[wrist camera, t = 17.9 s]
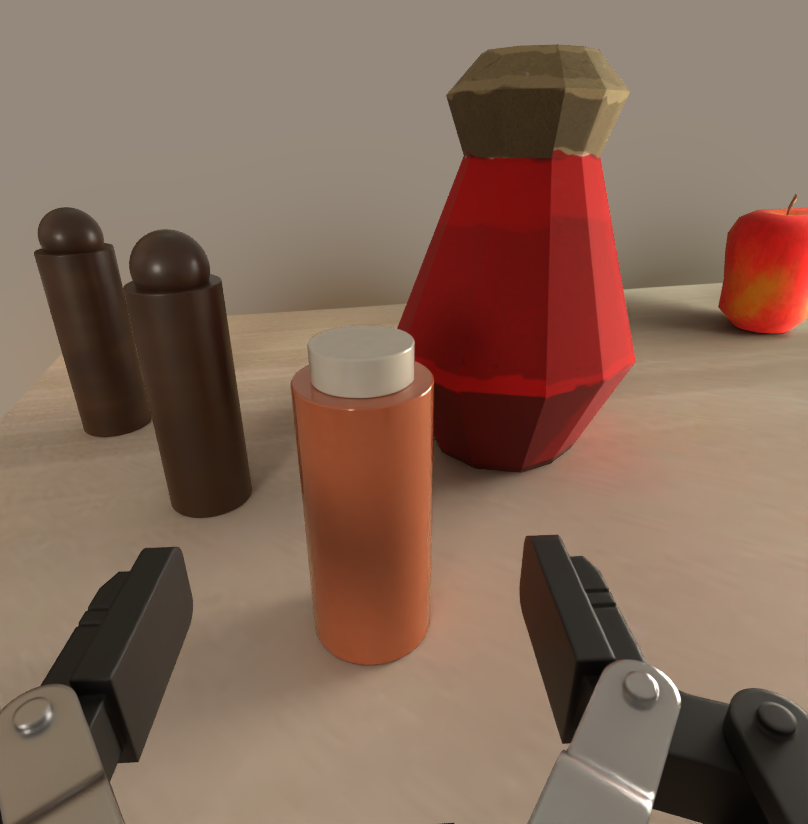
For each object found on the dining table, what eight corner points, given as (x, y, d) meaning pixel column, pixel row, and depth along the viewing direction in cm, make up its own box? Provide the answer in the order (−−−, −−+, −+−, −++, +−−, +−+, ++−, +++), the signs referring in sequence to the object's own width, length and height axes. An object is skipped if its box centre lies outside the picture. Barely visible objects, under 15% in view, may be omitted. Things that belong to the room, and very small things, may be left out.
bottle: (457, 370, 45) (468, 74, 36) (640, 406, 39) (707, 61, 30) (342, 463, 32) (316, 45, 23) (585, 536, 26) (671, 12, 18)
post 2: (195, 528, 27) (136, 241, 21) (157, 495, 30) (95, 230, 24) (267, 493, 30) (231, 229, 24) (226, 466, 32) (185, 220, 26)
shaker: (369, 688, 19) (354, 381, 14) (291, 619, 22) (256, 341, 17) (453, 616, 22) (465, 339, 17) (375, 563, 25) (366, 311, 20)
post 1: (98, 443, 35) (34, 214, 29) (74, 422, 37) (12, 208, 31) (162, 421, 37) (115, 207, 31) (136, 403, 40) (88, 201, 34)
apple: (763, 311, 59) (797, 188, 54) (834, 337, 51) (881, 197, 46) (688, 317, 57) (716, 190, 52) (751, 344, 50) (790, 200, 45)
